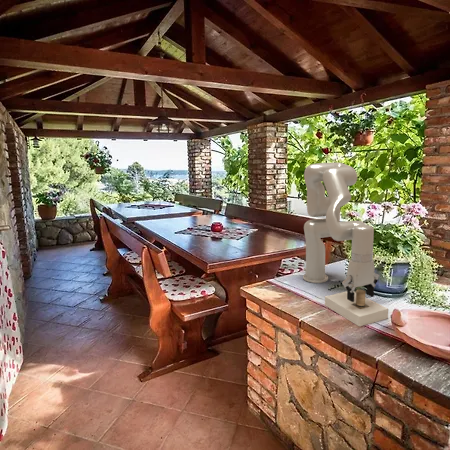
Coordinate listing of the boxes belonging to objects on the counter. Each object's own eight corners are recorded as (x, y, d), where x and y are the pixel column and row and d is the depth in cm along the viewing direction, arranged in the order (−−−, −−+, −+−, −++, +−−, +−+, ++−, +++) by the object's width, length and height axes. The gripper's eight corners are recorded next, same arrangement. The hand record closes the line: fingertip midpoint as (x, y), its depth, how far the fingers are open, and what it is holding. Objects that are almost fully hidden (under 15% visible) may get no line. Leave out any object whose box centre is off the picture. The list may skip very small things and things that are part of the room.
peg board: (324, 305, 138) (324, 296, 137) (350, 298, 143) (351, 290, 142) (359, 326, 120) (359, 316, 119) (387, 318, 125) (388, 308, 124)
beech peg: (353, 313, 130) (354, 290, 128) (360, 311, 131) (361, 288, 129) (359, 317, 126) (360, 293, 124) (366, 315, 128) (367, 291, 126)
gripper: (371, 251, 130) (370, 290, 134) (336, 257, 124) (336, 298, 128) (387, 255, 123) (384, 297, 127) (350, 263, 117) (349, 306, 121)
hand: (360, 298), depth 127 cm, fingers open, 9 cm apart
